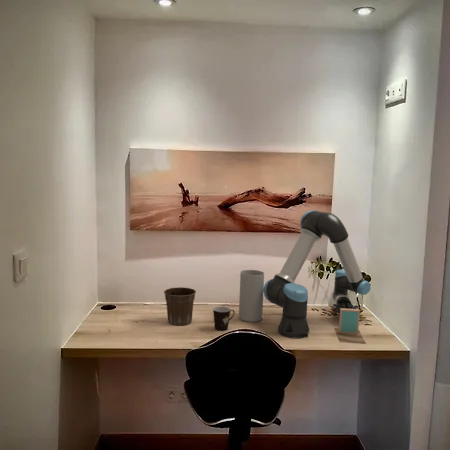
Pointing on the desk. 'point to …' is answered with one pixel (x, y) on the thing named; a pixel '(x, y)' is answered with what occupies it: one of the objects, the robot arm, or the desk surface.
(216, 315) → the coffee mug
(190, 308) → the plant pot
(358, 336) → the board
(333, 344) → the desk surface
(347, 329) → the picture frame
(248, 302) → the cylinder vase
